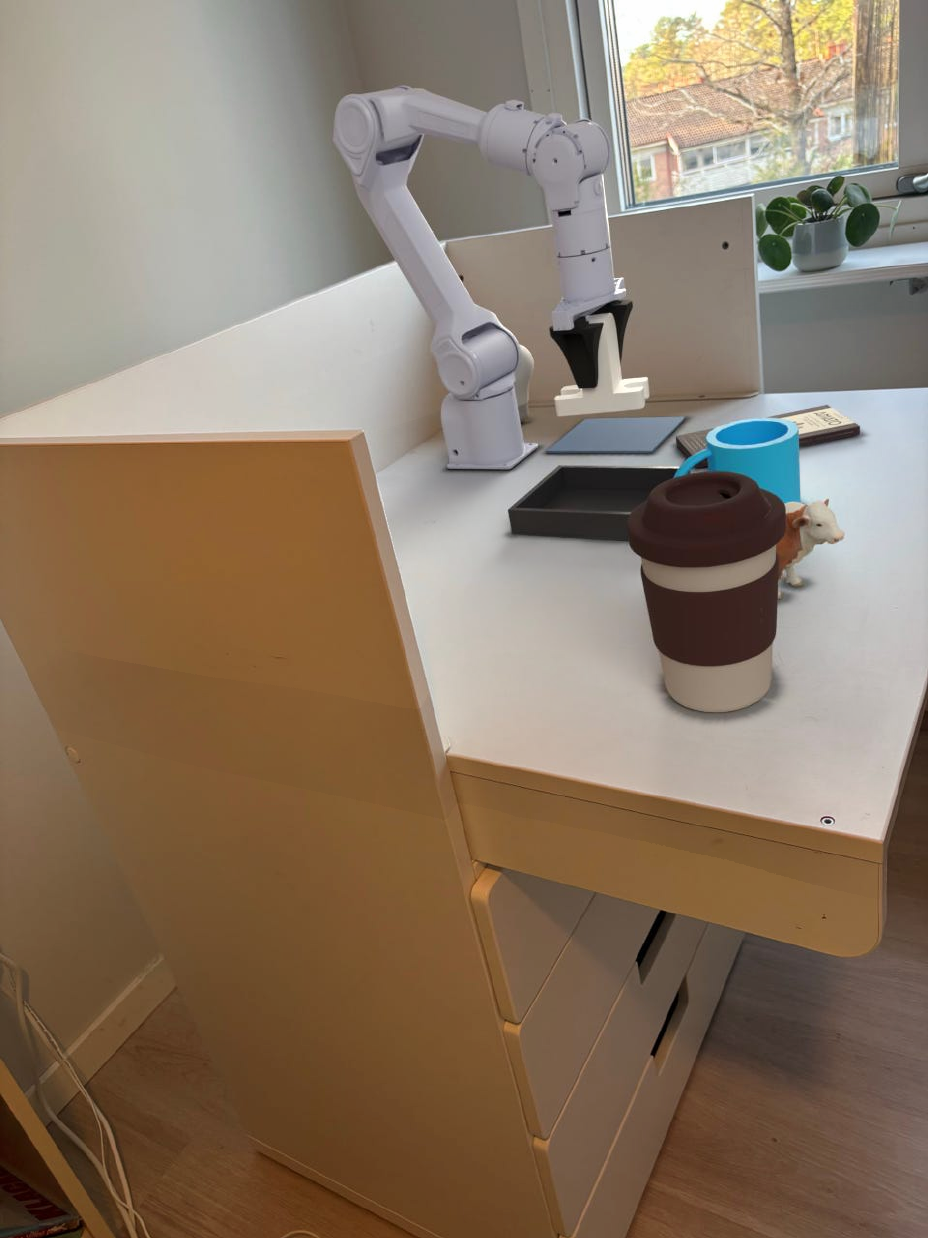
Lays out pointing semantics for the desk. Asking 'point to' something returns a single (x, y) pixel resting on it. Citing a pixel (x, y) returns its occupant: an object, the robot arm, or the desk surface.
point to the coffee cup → (711, 585)
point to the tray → (586, 501)
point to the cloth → (617, 435)
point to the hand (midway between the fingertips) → (599, 378)
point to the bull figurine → (805, 535)
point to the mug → (755, 454)
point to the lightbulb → (523, 382)
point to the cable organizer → (604, 380)
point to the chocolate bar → (811, 422)
